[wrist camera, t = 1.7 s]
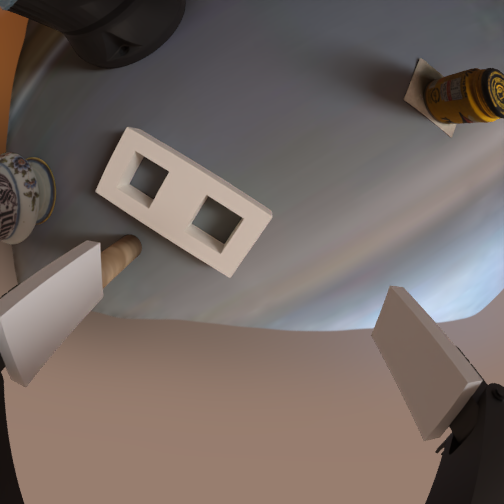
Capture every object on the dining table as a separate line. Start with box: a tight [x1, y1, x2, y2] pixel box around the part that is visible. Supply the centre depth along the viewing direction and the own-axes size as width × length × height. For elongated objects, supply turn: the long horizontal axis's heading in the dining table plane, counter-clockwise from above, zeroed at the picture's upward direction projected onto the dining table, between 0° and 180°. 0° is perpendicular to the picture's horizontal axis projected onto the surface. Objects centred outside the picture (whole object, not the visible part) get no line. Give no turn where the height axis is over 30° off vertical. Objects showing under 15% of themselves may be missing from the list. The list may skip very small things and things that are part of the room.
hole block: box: [95, 127, 273, 278], centre depth 30 cm, size 18×8×4 cm, turn 57°
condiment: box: [404, 58, 504, 138], centre depth 21 cm, size 7×8×12 cm
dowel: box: [101, 235, 142, 288], centre depth 29 cm, size 3×3×10 cm
